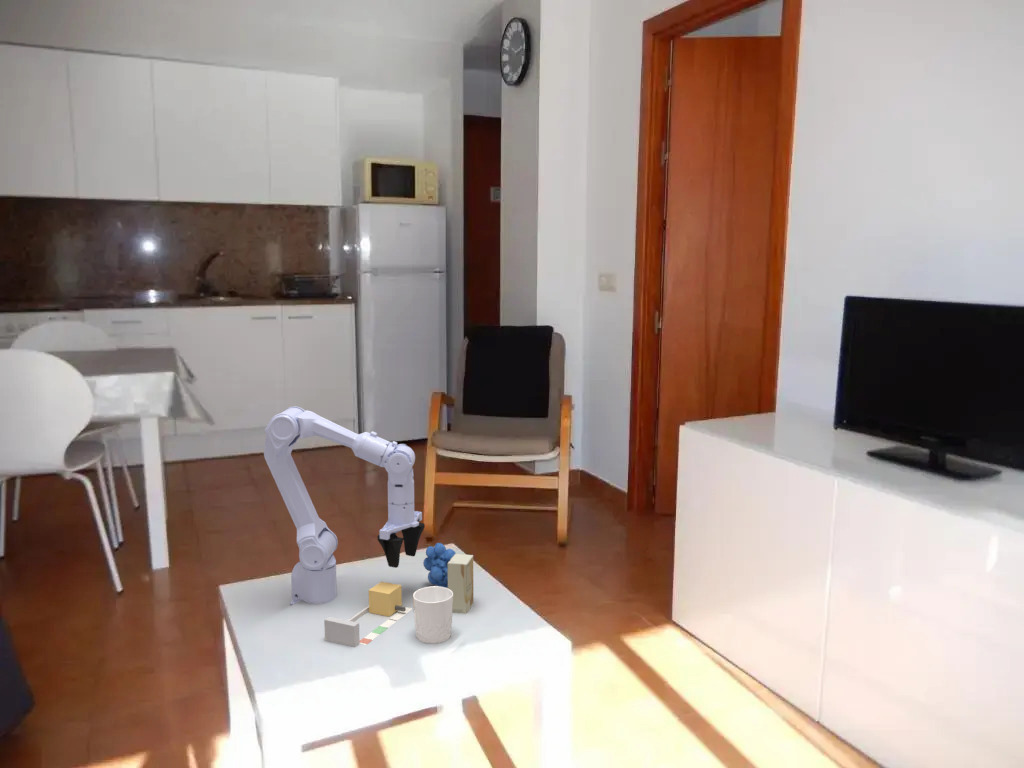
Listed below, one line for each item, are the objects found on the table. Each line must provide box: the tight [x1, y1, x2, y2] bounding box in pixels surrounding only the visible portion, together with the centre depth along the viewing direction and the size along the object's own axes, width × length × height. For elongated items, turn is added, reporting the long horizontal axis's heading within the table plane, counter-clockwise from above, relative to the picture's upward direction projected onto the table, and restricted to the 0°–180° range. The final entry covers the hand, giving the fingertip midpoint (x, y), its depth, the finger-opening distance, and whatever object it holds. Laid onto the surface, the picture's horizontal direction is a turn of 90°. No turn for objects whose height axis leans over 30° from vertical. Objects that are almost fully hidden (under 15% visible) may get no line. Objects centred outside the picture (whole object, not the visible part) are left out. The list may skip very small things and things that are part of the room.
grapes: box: [423, 542, 457, 588], centre depth 173 cm, size 12×7×12 cm, turn 56°
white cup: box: [412, 585, 453, 644], centre depth 151 cm, size 8×8×10 cm
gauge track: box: [323, 605, 414, 648], centre depth 158 cm, size 11×22×6 cm, turn 157°
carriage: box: [368, 581, 406, 618], centre depth 162 cm, size 7×5×5 cm
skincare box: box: [448, 553, 474, 615], centre depth 164 cm, size 6×4×12 cm
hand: (402, 560), depth 168 cm, fingers open, 7 cm apart
